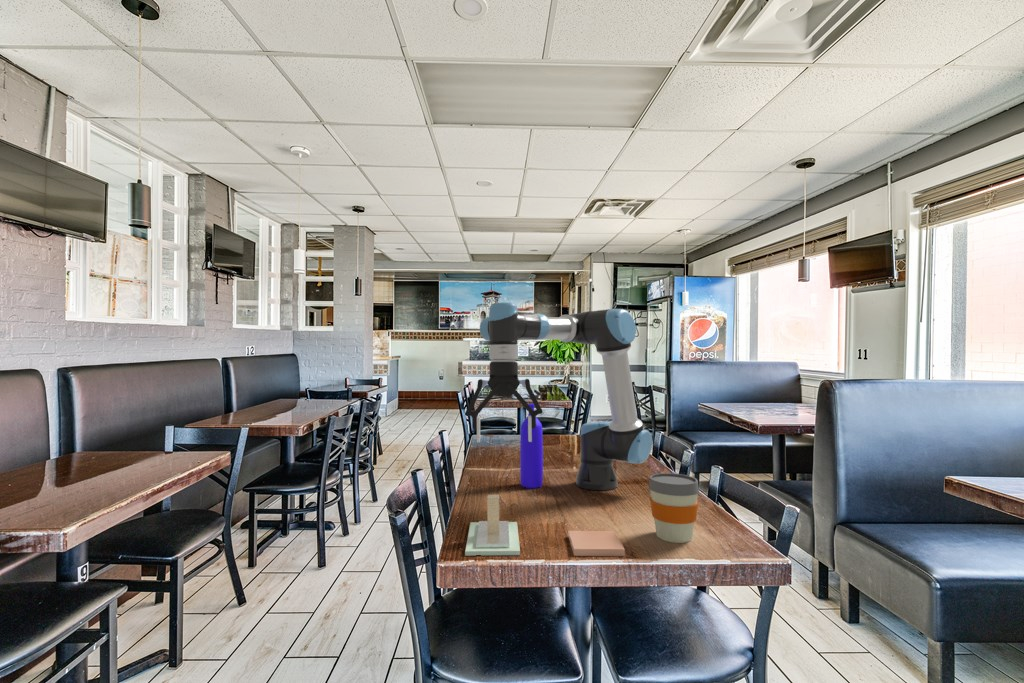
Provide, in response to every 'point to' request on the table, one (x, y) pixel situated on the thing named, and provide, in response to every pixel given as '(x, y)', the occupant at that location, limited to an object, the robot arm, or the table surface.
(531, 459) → the bottle
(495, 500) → the beige post on base
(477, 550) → the rest mat
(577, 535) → the tile
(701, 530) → the table surface
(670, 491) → the reusable coffee cup
